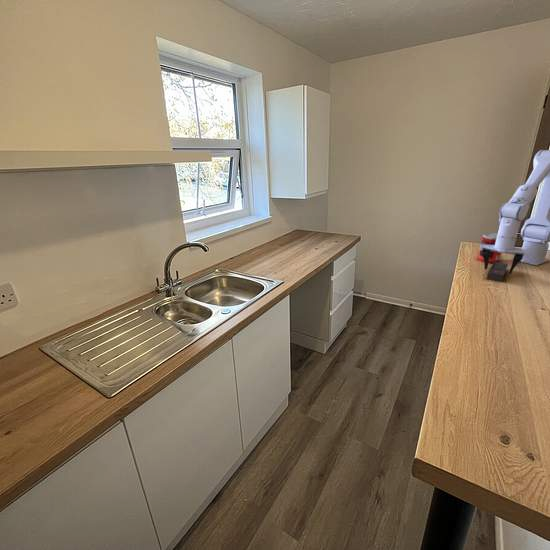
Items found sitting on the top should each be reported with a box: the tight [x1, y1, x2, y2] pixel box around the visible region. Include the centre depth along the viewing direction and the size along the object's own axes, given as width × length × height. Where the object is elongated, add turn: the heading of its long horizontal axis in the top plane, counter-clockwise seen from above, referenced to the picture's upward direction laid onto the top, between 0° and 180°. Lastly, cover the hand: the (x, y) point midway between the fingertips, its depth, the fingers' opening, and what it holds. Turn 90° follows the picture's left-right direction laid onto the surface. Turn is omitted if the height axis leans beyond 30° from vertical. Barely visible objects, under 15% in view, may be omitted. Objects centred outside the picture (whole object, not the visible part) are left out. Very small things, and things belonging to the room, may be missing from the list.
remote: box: [486, 261, 509, 283], centre depth 115 cm, size 14×5×3 cm, turn 139°
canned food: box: [477, 232, 502, 264], centre depth 127 cm, size 8×8×11 cm
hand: (497, 270), depth 114 cm, fingers open, 7 cm apart
